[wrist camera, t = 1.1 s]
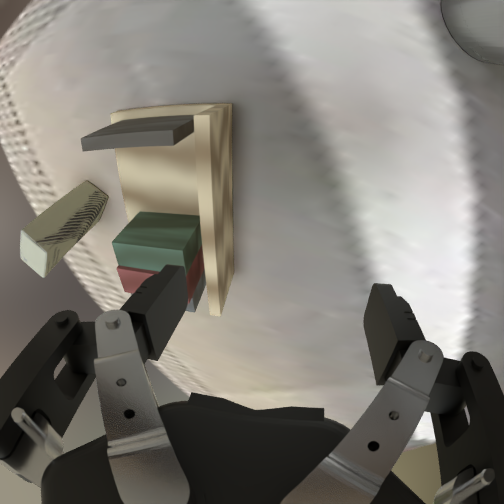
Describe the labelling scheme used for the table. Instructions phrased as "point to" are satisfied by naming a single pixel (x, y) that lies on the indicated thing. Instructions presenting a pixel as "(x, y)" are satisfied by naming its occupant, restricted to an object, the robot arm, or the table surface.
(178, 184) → the shelf
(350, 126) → the table surface
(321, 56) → the table surface
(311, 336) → the table surface
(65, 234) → the box
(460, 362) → the robot arm
